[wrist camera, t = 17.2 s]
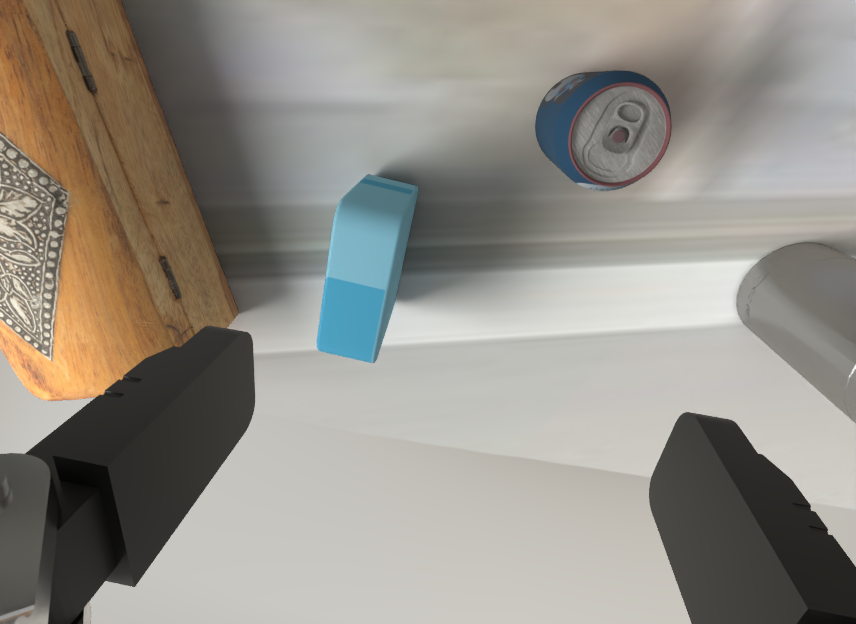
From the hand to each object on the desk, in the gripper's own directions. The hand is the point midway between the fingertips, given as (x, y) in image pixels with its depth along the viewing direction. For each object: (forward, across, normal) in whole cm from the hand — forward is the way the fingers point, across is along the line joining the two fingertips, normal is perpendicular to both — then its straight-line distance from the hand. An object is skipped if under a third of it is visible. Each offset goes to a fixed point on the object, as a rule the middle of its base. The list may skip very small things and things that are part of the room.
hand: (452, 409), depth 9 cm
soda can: (+36, -7, -4) cm, 36 cm away
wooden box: (+34, +34, +7) cm, 48 cm away
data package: (+35, +8, +9) cm, 37 cm away
